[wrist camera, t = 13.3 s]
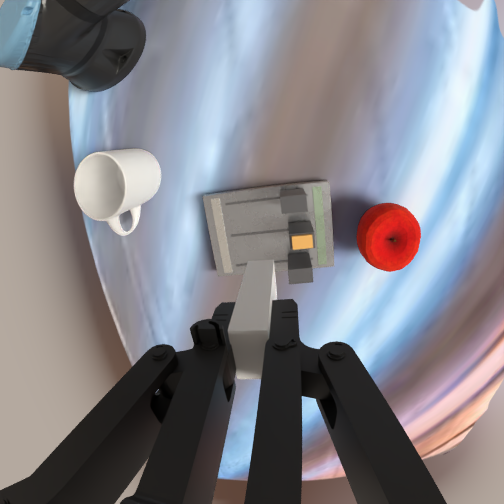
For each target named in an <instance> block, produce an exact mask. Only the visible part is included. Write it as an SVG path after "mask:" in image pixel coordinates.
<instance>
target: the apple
mask: <svg viewBox="0 0 504 504" xmlns="http://www.w3.org/2000/svg"><path fill="white" fill-rule="evenodd" d="M356 237H357V245H358V248H359V250H360V253H361V254H362V256H363V257H364V258H365V260H366V261H367V262H368V263H369V264H370V265H372V266H374V267H375V268H377V269H381V270H384V271H389V272H391V271H396V270H400V269H402V268H404V267H405V266H406V265H408V264H409V263H410V262H411V261H412V260H413V258H414V256H415V255H416V253H417V252H418V248H419V243H420V238H421V231H420V226H419V223H418V221H417V220H416V218H415V217H414V215H413V214H412V213H411V212H410V211H408V210H407V209H406V208H405V207H402V206H400V205H398V204H394V203H382V204H378V205H376V206H374V207H371V208H370V209H369V210H367V211H366V212H365V213H364V215H363V216H362V217H361V219H360V222H359V224H358V230H357V236H356Z"/></svg>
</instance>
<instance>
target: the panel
mask: <svg viewBox="0 0 504 504" xmlns="http://www.w3.org/2000/svg"><path fill="white" fill-rule="evenodd" d="M298 188H303V189H304V191H305V193H306V197H307V208H308V212H297V213H287V214H282V212H281V203H280V190H288V189H298ZM203 202H204V207H205V213H206V218H207V223H208V229H209V234H210V239H211V244H212V249H213V254H214V259H215V264H216V269H217V273H218V276H229V275H242V274H244V273H245V269H246V266H247V263H248V261H256V260H272V259H274V267H275V272H278V271H288V255H290V254H301V253H309V254H310V259H311V264H312V268H321V267H331V266H334V247H333V227H332V211H331V198H330V186H329V181H327V180H321V181H309V182H299V183H289V184H279V185H271V186H262V187H254V188H246V189H238V190H231V191H224V192H217V193H210V194H206V195H204V196H203ZM305 221H311V224H312V227H313V230H314V235H315V248H310V249H300V250H290V241H289V228H288V223H294V222H305Z"/></svg>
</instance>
